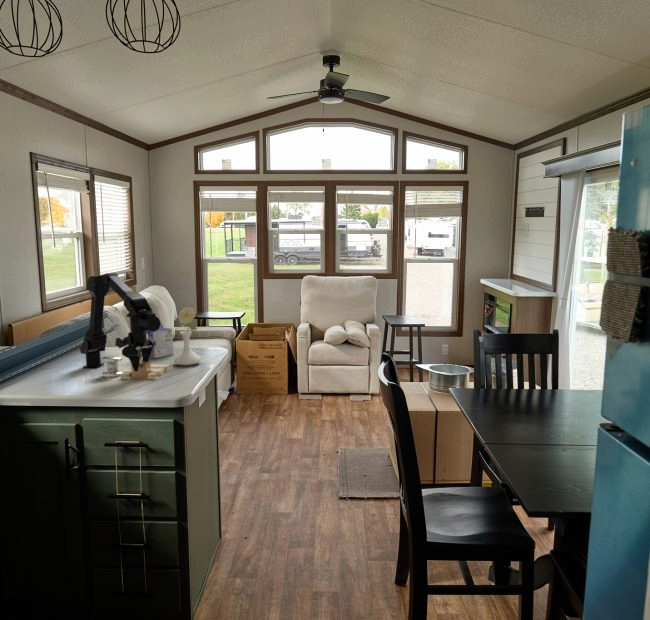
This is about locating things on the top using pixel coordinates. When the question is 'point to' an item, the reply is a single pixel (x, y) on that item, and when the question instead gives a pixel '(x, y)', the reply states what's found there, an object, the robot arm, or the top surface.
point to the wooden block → (141, 370)
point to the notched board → (154, 374)
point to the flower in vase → (187, 338)
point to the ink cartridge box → (162, 342)
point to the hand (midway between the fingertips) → (140, 368)
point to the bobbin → (112, 366)
